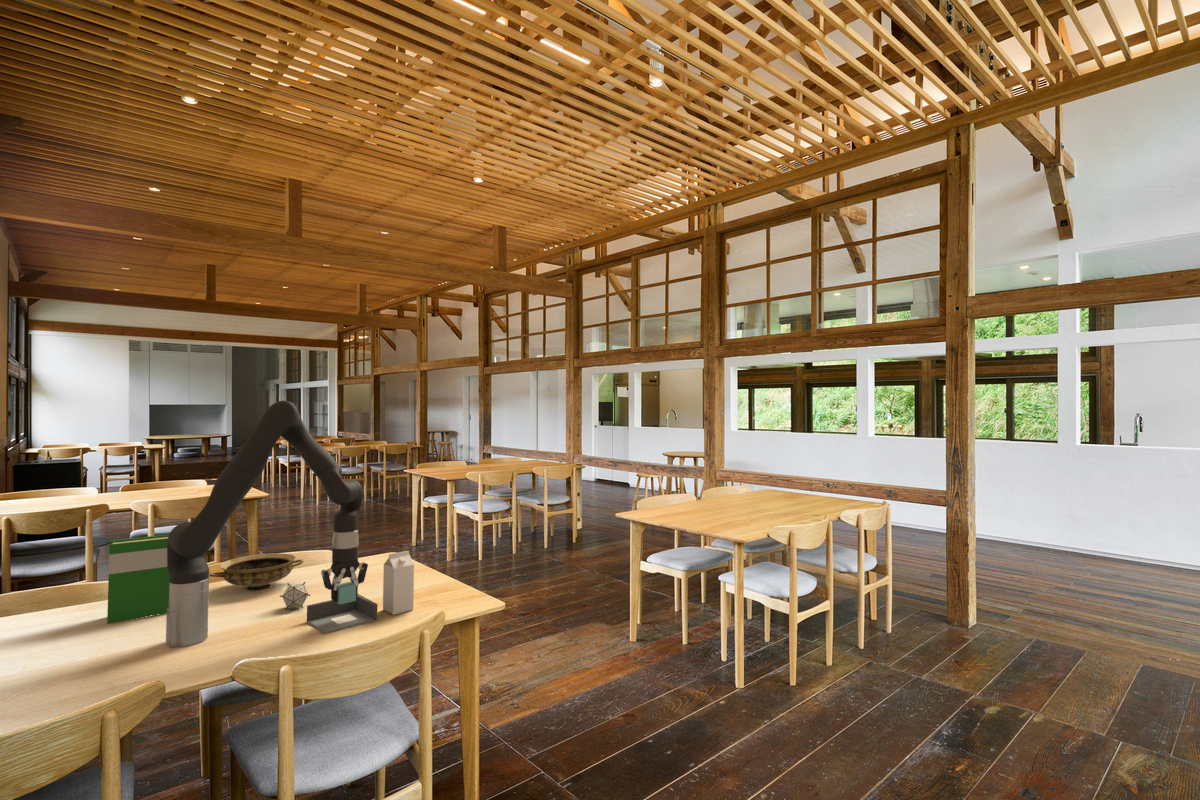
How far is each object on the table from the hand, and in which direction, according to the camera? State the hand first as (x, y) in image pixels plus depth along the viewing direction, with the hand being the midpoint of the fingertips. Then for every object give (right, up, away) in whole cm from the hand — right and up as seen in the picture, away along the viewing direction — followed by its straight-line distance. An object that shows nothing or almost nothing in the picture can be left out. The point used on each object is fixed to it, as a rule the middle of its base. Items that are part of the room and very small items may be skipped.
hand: (344, 599), depth 179 cm
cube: (0, 0, 0) cm, 0 cm away
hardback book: (-66, -6, +4) cm, 66 cm away
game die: (-22, -7, +11) cm, 25 cm away
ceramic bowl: (-46, -7, +32) cm, 57 cm away
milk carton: (+13, -7, +10) cm, 18 cm away
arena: (-1, -7, 0) cm, 7 cm away
